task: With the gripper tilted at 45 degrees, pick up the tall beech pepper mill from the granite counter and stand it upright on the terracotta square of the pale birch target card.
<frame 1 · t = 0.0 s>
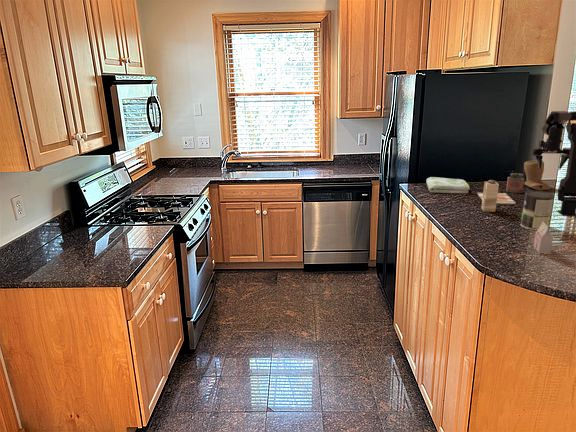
hand: (549, 168, 217), 15 cm above the table, tool pointing down, fingers open, 9 cm apart
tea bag: (541, 251, 157), on the table
pepper mill: (488, 209, 203), on the table
towel: (446, 190, 241), on the table
coffee can: (534, 227, 181), on the table
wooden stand: (533, 188, 240), on the table
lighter: (513, 191, 233), on the table
target card: (495, 198, 221), on the table
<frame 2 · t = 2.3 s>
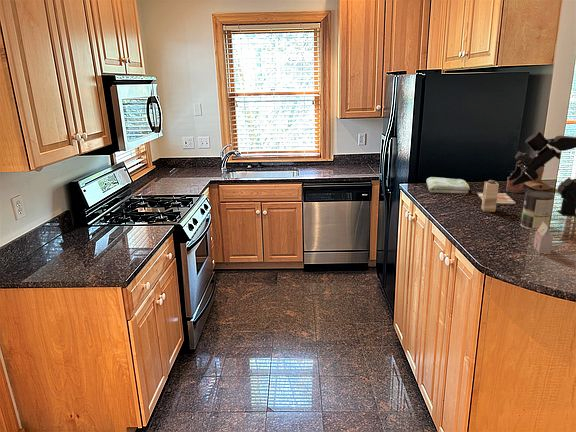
hand: (510, 182, 198), 13 cm above the table, tool tilted 45°, fingers open, 9 cm apart
nothing on the table moved.
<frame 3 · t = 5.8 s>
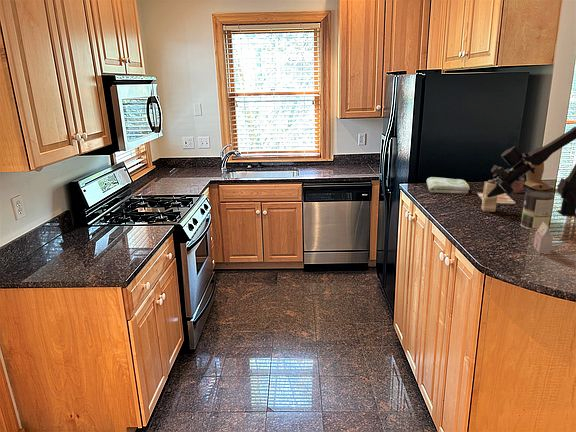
hand: (486, 195, 202), 7 cm above the table, tool tilted 45°, fingers closed on pepper mill, 5 cm apart
pepper mill: (488, 209, 203), on the table, touching gripper
everything else where it was.
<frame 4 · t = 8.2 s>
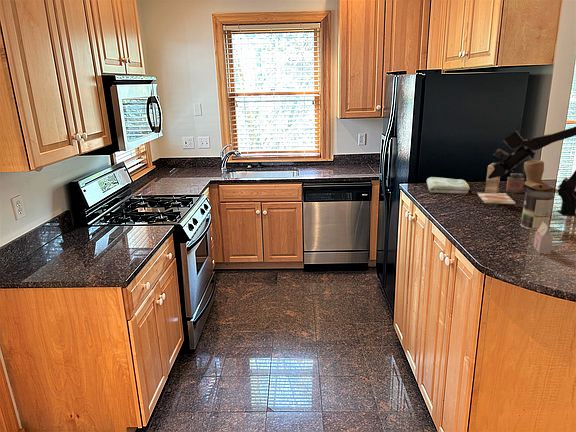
hand: (490, 177, 213), 12 cm above the table, tool tilted 45°, fingers closed on pepper mill, 5 cm apart
pepper mill: (491, 191, 214), point 5 cm above the table, touching gripper
everything else where it was.
when the fingers open (9 cm above the table, at t = 10.6 s): pepper mill drops 1 cm, resting on target card.
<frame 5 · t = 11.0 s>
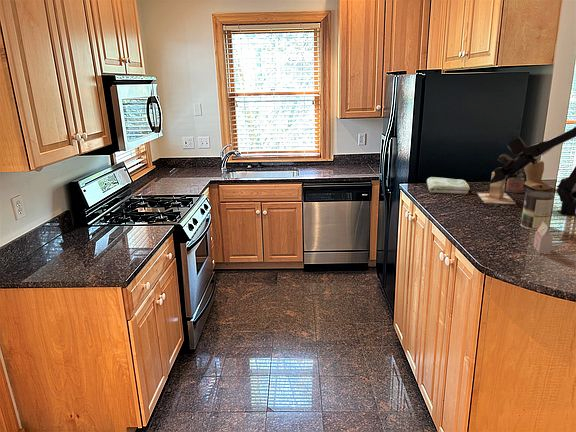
hand: (495, 181, 219), 9 cm above the table, tool tilted 45°, fingers open, 9 cm apart
pepper mill: (495, 197, 220), point 1 cm above the table, touching target card
everything else where it was.
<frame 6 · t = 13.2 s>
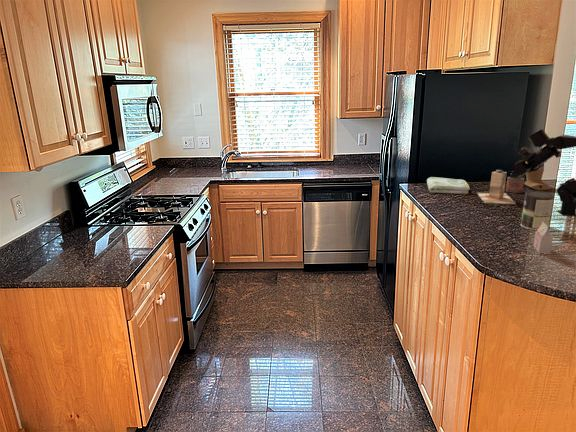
hand: (515, 175, 210), 13 cm above the table, tool tilted 45°, fingers open, 9 cm apart
nothing on the table moved.
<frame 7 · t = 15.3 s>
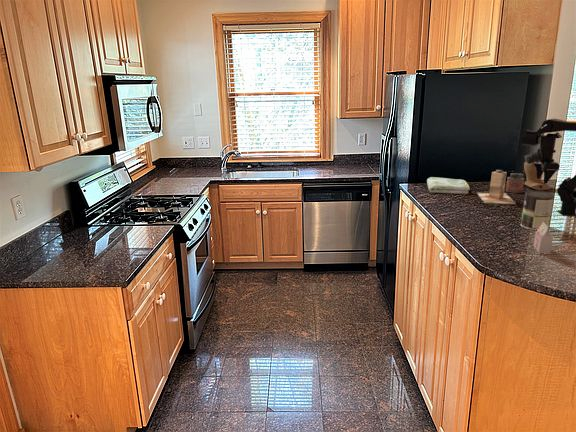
hand: (541, 181, 201), 13 cm above the table, tool pointing down, fingers open, 9 cm apart
nothing on the table moved.
at the end: pepper mill inside the target area on the target card (0.1 cm from its centre), point 0.7 cm above the target card's base; pepper mill tilted 0°; the gripper is holding nothing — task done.
